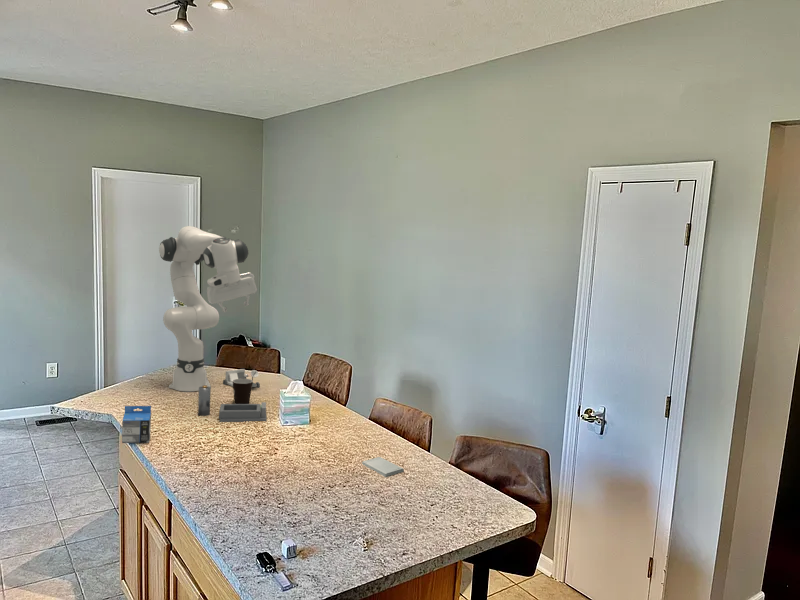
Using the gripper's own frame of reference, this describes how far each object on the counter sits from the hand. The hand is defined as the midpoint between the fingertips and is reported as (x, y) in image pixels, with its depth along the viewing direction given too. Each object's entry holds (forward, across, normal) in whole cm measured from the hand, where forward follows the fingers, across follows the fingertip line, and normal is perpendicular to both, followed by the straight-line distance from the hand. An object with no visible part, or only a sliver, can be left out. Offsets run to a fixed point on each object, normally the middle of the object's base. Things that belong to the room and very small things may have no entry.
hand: (235, 308), depth 242 cm
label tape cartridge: (+30, +52, +27) cm, 65 cm away
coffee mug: (+44, +4, -5) cm, 45 cm away
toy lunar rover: (+48, -3, -30) cm, 56 cm away
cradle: (+41, +10, +15) cm, 45 cm away
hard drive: (+46, -14, +83) cm, 96 cm away
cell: (+38, +24, +6) cm, 45 cm away
